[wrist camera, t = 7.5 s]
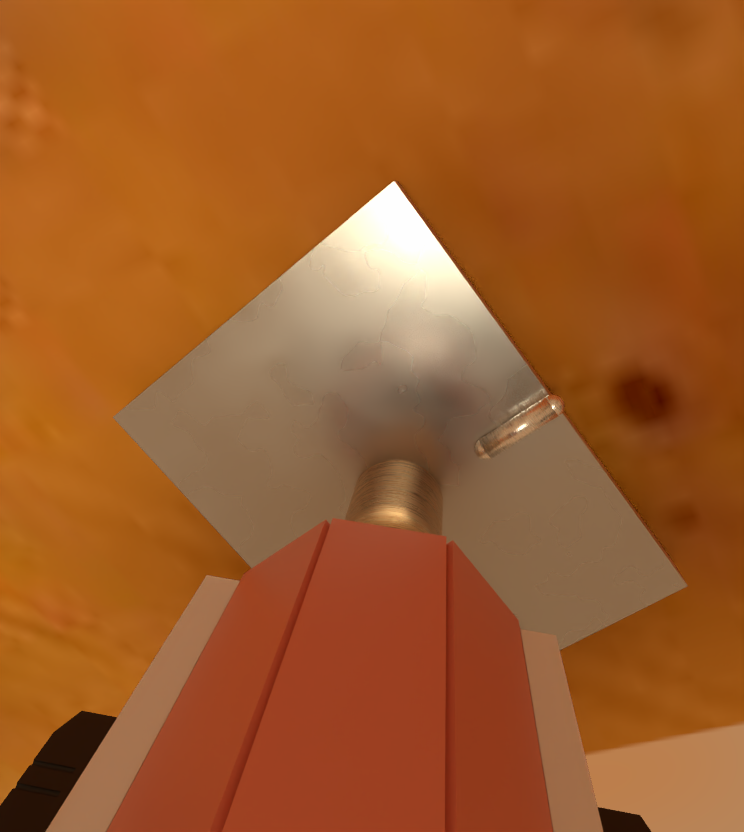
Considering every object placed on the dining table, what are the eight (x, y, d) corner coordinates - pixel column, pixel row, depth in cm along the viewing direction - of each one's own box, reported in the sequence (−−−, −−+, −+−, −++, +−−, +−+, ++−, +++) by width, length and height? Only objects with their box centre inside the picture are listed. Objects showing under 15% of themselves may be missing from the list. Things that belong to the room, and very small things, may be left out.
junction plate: (685, 566, 22) (846, 822, 13) (409, 708, 26) (388, 983, 17) (404, 175, 19) (363, 162, 10) (134, 403, 22) (-76, 543, 13)
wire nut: (567, 679, 14) (708, 1266, 6) (352, 784, 16) (262, 1333, 8) (397, 472, 12) (321, 895, 5) (185, 612, 14) (-104, 1074, 7)
